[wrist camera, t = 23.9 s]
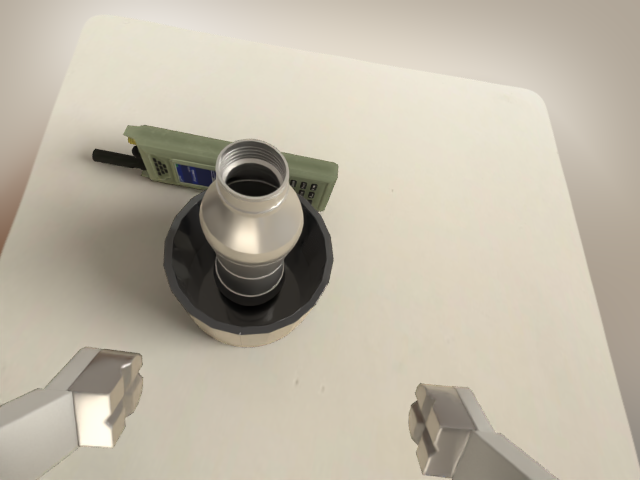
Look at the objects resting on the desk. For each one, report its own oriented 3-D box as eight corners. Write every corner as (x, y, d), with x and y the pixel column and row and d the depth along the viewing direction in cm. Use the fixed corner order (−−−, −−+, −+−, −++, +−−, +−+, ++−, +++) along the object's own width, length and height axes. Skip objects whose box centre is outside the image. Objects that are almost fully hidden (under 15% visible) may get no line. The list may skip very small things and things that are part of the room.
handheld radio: (323, 216, 41) (92, 175, 38) (326, 192, 43) (103, 151, 40) (336, 184, 35) (64, 132, 32) (339, 158, 37) (78, 105, 34)
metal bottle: (238, 237, 38) (229, 95, 20) (294, 268, 38) (339, 155, 19) (202, 289, 35) (153, 181, 17) (262, 323, 35) (279, 252, 17)
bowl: (320, 341, 36) (341, 327, 28) (180, 353, 33) (158, 341, 25) (308, 221, 41) (324, 179, 33) (185, 223, 38) (168, 177, 30)
